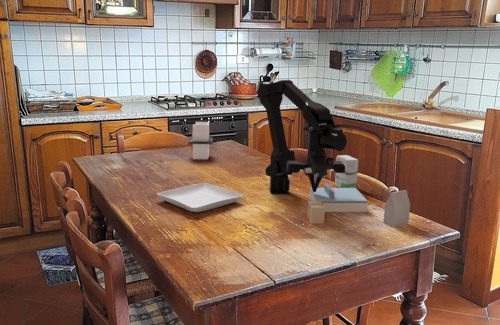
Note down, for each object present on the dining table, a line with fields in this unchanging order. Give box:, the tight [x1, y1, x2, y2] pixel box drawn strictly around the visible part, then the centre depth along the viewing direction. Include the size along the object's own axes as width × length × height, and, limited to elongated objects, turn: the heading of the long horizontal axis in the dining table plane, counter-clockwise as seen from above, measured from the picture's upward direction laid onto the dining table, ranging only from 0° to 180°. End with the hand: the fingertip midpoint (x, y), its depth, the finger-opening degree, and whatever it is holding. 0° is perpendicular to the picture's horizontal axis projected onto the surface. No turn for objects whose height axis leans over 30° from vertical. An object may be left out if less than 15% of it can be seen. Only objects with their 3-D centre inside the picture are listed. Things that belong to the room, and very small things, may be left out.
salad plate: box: [156, 182, 244, 213], centre depth 160 cm, size 21×21×3 cm
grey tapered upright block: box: [382, 189, 411, 228], centre depth 143 cm, size 4×7×10 cm, turn 121°
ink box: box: [334, 154, 359, 190], centre depth 178 cm, size 9×5×12 cm, turn 18°
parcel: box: [306, 200, 326, 224], centre depth 145 cm, size 4×6×5 cm
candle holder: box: [188, 121, 214, 160], centre depth 222 cm, size 25×24×16 cm
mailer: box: [309, 189, 368, 213], centre depth 160 cm, size 16×14×3 cm
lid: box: [309, 182, 368, 203], centre depth 159 cm, size 16×14×3 cm
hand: (314, 191), depth 158 cm, fingers closed
